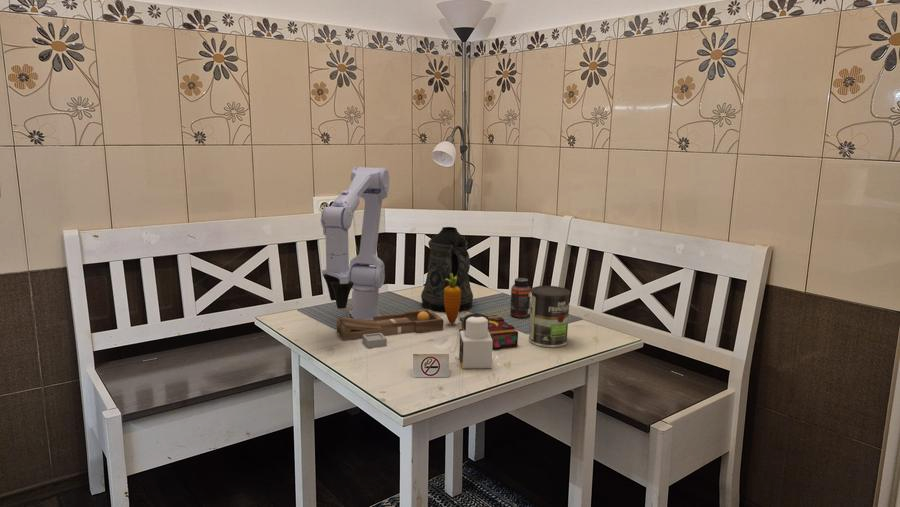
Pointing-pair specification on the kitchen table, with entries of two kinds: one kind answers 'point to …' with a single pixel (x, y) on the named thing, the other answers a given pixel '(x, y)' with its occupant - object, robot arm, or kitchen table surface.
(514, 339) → the decorative book
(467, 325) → the medicine bottle
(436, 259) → the beer stein
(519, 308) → the supplement bottle
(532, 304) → the coffee can
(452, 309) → the carrot
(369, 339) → the gray box
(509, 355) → the kitchen table surface
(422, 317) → the ball
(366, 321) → the brown wooden shallow tray
